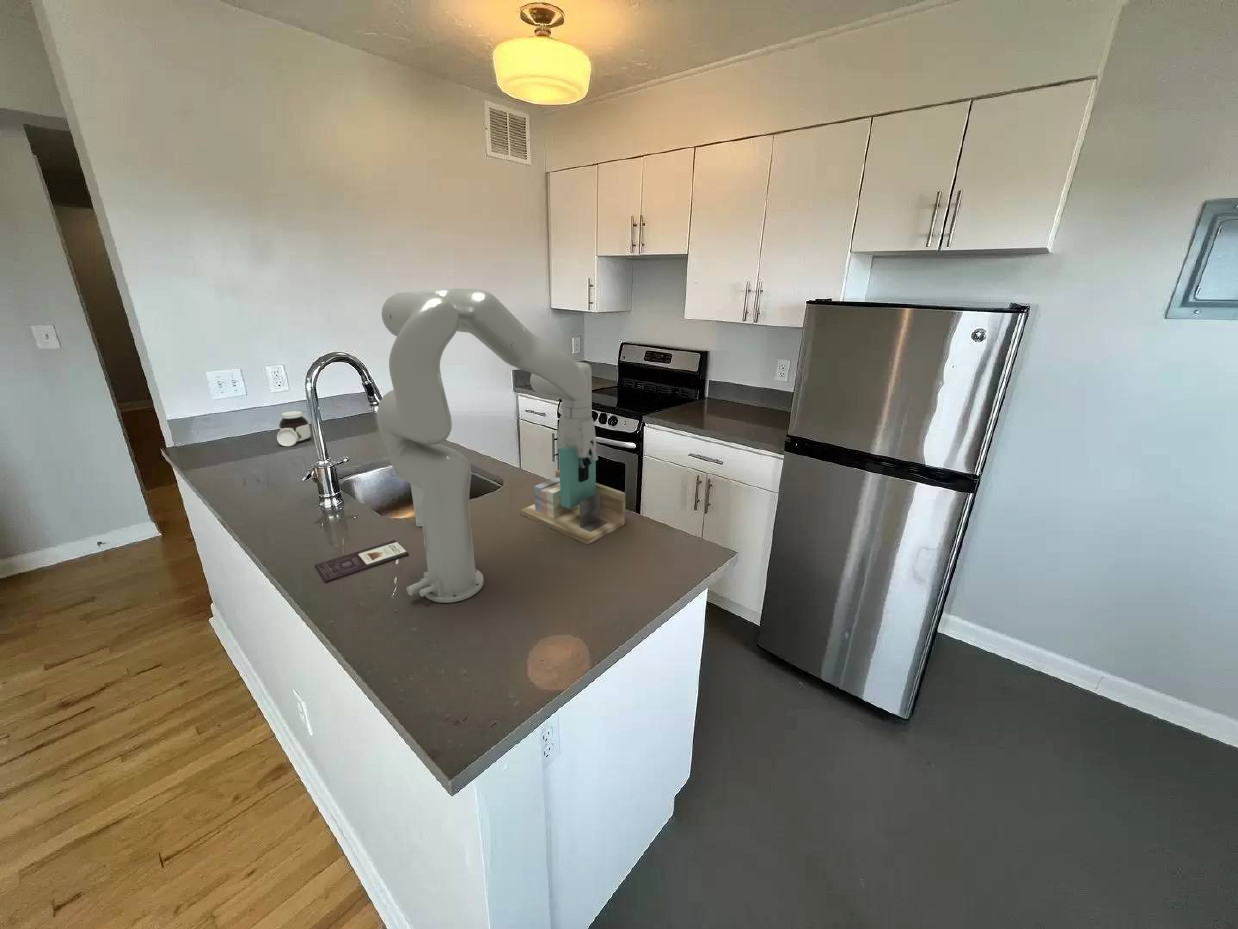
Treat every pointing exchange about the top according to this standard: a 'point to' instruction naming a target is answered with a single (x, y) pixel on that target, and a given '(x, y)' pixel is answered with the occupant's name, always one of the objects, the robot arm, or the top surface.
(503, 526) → the top surface
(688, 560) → the top surface
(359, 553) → the chocolate bar
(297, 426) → the spread jar
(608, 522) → the shelf
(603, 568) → the top surface
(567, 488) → the book
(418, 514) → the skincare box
